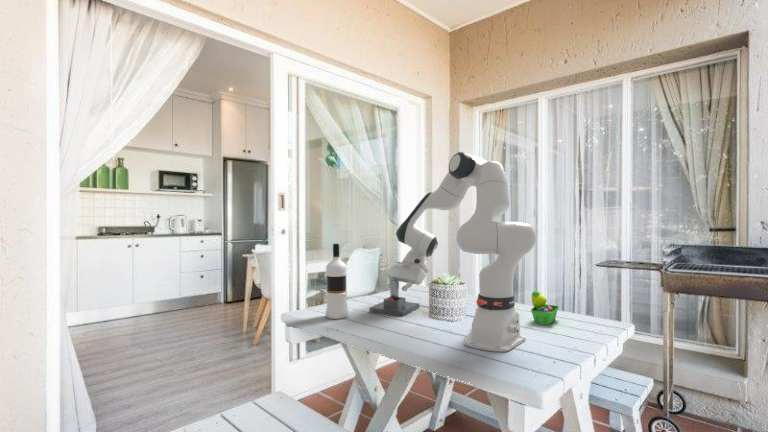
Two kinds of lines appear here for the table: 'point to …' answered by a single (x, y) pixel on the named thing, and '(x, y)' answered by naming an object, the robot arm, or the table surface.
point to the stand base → (394, 307)
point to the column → (394, 289)
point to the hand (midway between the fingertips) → (396, 288)
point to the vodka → (336, 287)
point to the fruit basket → (542, 309)
